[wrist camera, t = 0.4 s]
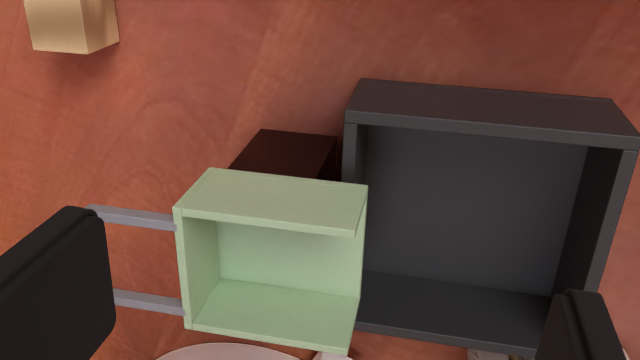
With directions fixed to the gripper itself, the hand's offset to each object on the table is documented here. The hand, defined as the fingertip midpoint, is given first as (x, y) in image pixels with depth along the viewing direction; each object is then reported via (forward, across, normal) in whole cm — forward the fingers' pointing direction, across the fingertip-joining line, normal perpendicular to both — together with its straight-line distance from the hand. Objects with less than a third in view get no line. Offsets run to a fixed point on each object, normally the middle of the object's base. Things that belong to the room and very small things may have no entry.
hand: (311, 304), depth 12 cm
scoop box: (+19, +8, +11) cm, 24 cm away
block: (+27, +22, 0) cm, 35 cm away
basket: (+27, -5, +11) cm, 30 cm away
